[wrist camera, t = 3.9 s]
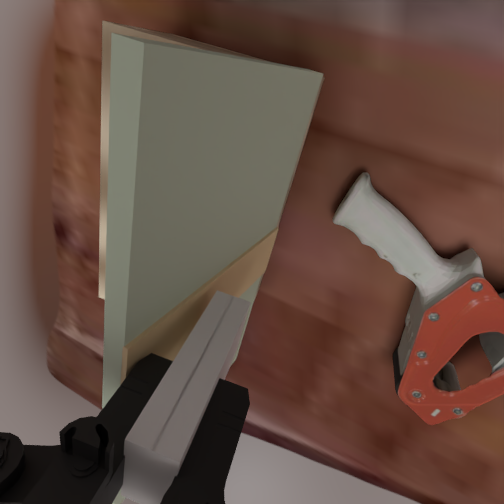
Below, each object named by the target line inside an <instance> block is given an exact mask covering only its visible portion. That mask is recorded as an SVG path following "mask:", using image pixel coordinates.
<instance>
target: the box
mask: <svg viewBox="0 0 504 504" xmlns="http://www.w3.org/2000/svg"><path fill="white" fill-rule="evenodd" d="M111 33H116V34H122V35H127V36H132V37H138V38H143V39H149V40H154V41H159V42H165V43H170V44H175V45H181V46H186V47H192V48H197V49H202V50H208V51H213V52H219V53H224V54H229V55H235V56H240V57H246V58H251V59H256V60H262V61H266V60H263V59H259V58H256V57H252V56H249V55H245V54H242V53H238V52H234V51H231V50H227V49H224V48H220V47H217V46H213V45H210V44H206V43H203V42H199V41H195V40H192V39H188V38H185V37H181V36H178V35H174V34H170V33H164V32H159V31H154V30H149V29H144V28H139V27H133V26H128V25H123V24H118V23H113V22H107V21H102V89H101V166H100V243H99V297H100V298H103V299H105V276H106V235H107V194H108V154H109V113H110V72H111ZM267 62H270V61H267ZM272 63H273V62H272ZM324 78H325V77H322V81H321V84H320V87H319V90H318V94H317V97H316V100H315V103H314V107H313V110H312V113H311V116H310V120H309V123H308V126H307V129H306V133H305V136H304V139H303V143H302V146H301V149H300V152H299V156H298V159H297V162H296V165H295V169H294V172H293V175H292V178H291V182H290V185H289V188H288V191H287V195H286V198H285V201H284V204H283V208H282V211H281V214H280V217H279V221H278V224H277V228H278V227H279V224H280V220H281V217H282V214H283V211H284V207H285V204H286V201H287V198H288V194H289V191H290V188H291V185H292V182H293V178H294V175H295V172H296V169H297V165H298V162H299V159H300V156H301V152H302V149H303V146H304V143H305V140H306V136H307V133H308V130H309V127H310V123H311V120H312V117H313V114H314V111H315V107H316V104H317V101H318V98H319V94H320V91H321V88H322V85H323V81H324ZM263 275H264V273H263V274H262V276H261V279H260V283H259V286H258V289H257V292H256V295H257V293H258V290H259V288H260V285H261V282H262V278H263ZM255 298H256V296H255ZM254 300H255V299H254Z"/></svg>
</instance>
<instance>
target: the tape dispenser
mask: <svg viewBox="0 0 504 504" xmlns="http://www.w3.org/2000/svg"><path fill="white" fill-rule="evenodd" d="M333 223H335V224H337V225H342V226H344V227H346V228H348V229H349V230H351V231H352V232H354V233H355V234H356V235H357V237H358V238H359V240H360V241H361V243H362V244H365V245H368V246H370V247H372V248H373V249H374V250H375V251H376V252H377V254H378V256H379V257H380V258H382V259H385V260H387V261H389V262H390V263H391V264H392V265H393V267H394V269H395V271H396V272H397V273H399V274H401V275H404V276H406V277H407V278H409V279H410V280H411V281H413V282H414V283H415V285H416V289H415V292H414V295H413V298H412V301H411V304H410V307H409V310H408V313H407V316H406V320H405V323H406V327H405V329H404V332H403V334H402V338H401V341H400V345H399V347H398V348H397V349H396V350H395V351H394V354H393V366H394V377H395V390H396V393H397V395H398V397H399V398H400V400H401V401H402V402H404V403H405V404H406V405H407V406H409V407H410V408H411V409H412V410H413V411H414V412H415V413H416V414H417V415H418V416H419V417H420V418H421V419H423V420H424V421H425V422H426V423H427V424H429V425H434V424H437V423H441V422H444V421H446V420H449V419H452V418H455V419H456V418H461V417H463V416H465V415H466V414H467V413H468V411H470V410H473V409H474V408H475V407H477V406H481V405H482V404H484V403H486V402H489V401H491V400H493V399H494V398H496V397H498V396H500V395H502V394H504V292H503V293H501V294H499V295H498V294H497V292H496V291H495V289H494V288H493V286H492V285H491V284H490V283H489V282H488V281H487V280H486V279H485V278H484V275H483V270H482V263H481V260H480V257H479V256H478V255H477V253H476V252H475V251H474V249H473V248H470V249H468V250H466V251H464V252H462V253H459V254H457V255H455V256H454V257H452V258H451V259H445V258H442V257H440V256H439V255H437V254H436V252H435V251H434V250H433V248H432V247H431V246H430V244H429V243H428V242H427V241H426V239H425V238H424V237H423V236H422V234H421V233H420V232H419V231H418V230H417V229H416V228H415V226H414V225H413V224H412V223H411V222H410V221H409V220H408V219H407V218H406V217H405V216H404V215H403V214H402V213H401V212H400V211H399V210H398V209H397V208H395V207H394V206H393V205H392V204H391V203H390V202H388V201H387V200H386V199H385V198H383V197H382V196H381V195H380V194H378V193H377V192H376V190H375V189H374V188H373V187H372V184H371V182H370V175H369V174H368V173H362V174H361V175H360V176H359V177H358V178H357V179H356V181H355V182H354V184H353V185H352V187H351V188H350V190H349V191H348V193H347V194H346V196H345V197H344V199H343V200H342V202H341V204H340V205H339V207H338V209H337V211H336V212H335V215H334V217H333ZM477 334H479V337H480V344H481V346H482V348H483V350H484V352H485V354H486V356H487V358H488V359H489V361H490V363H491V365H492V373H491V375H490V377H488V378H485V379H483V380H481V381H479V382H478V383H477V384H474V385H470V386H468V387H467V388H466V389H464V390H461V389H460V385H459V381H458V378H457V374H456V370H455V367H454V365H453V364H452V363H450V362H449V360H450V359H451V358H452V356H453V355H455V353H456V352H457V351H458V350H459V349H460V348H461V347H462V346H463V344H464V343H465V342H466V341H467V340H468V339H470V338H471V337H472V336H474V335H477Z"/></svg>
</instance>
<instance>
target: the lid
mask: <svg viewBox="0 0 504 504" xmlns="http://www.w3.org/2000/svg"><path fill="white" fill-rule="evenodd" d="M322 77H323V73H320V72H316V71H313V70H309V69H305V68H299V67H294V66H289V65H283V64H278V63H272V62H267V61H262V60H256V59H251V58H246V57H240V56H235V55H229V54H224V53H219V52H213V51H208V50H202V49H197V48H192V47H186V46H181V45H175V44H170V43H165V42H159V41H154V40H149V39H143V38H138V37H132V36H127V35H122V34H116V33H111V72H110V113H109V154H108V194H107V235H106V276H105V316H104V357H103V397H102V409H103V408H104V407H105V405H106V404H107V402H108V401H109V400H110V398H111V397H112V396H113V394H114V393H115V392H116V390H117V389H118V388H119V387H120V385H121V384H122V382H123V381H124V380H125V378H126V377H127V376H128V374H129V373H130V371H131V370H132V369H133V367H134V366H135V365H136V363H137V362H138V361H140V360H141V359H143V358H144V357H146V356H147V355H149V354H150V353H153V354H156V355H158V356H161V357H163V358H166V359H169V360H171V361H174V359H175V357H176V356H177V354H178V353H179V351H180V349H181V348H182V346H183V345H184V343H185V341H186V340H187V338H188V336H189V335H190V333H191V332H192V330H193V328H194V327H195V325H196V324H197V322H198V320H199V319H200V317H201V315H202V314H203V312H204V311H205V309H206V307H207V306H208V304H209V303H210V301H211V299H212V298H213V296H214V295H215V293H216V291H217V290H218V291H220V292H223V293H226V294H229V295H232V296H235V297H237V298H240V299H243V300H246V301H249V302H251V303H250V306H249V310H248V313H247V317H246V320H245V324H244V327H243V331H242V334H241V338H240V341H239V344H238V348H237V351H236V353H235V356H234V358H233V361H232V363H231V365H232V364H233V362H234V361H235V360H236V358H237V354H238V351H239V348H240V345H241V341H242V338H243V335H244V332H245V328H246V325H247V322H248V319H249V315H250V312H251V309H252V305H253V302H254V299H255V296H256V292H257V289H258V286H259V283H260V279H261V276H262V274H263V273H264V272H265V271H266V268H267V265H268V262H269V258H270V255H271V252H272V249H273V246H274V242H275V239H276V236H277V233H278V229H279V228H277V224H278V221H279V217H280V214H281V211H282V208H283V204H284V201H285V198H286V195H287V191H288V188H289V185H290V182H291V178H292V175H293V172H294V169H295V165H296V162H297V159H298V156H299V152H300V149H301V146H302V143H303V139H304V136H305V133H306V129H307V126H308V123H309V120H310V116H311V113H312V110H313V107H314V103H315V100H316V97H317V94H318V90H319V87H320V84H321V81H322ZM231 365H230V366H231ZM125 499H126V497H124V496H121V489H120V491H119V492H118V494H117V496H116V498H115V500H114V501H113V503H112V504H122V502H123V501H124V500H125Z"/></svg>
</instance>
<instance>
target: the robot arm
mask: <svg viewBox="0 0 504 504" xmlns="http://www.w3.org/2000/svg"><path fill="white" fill-rule="evenodd" d="M250 303H251V302H249V301H246V300H243V299H240V298H237V297H235V296H232V295H229V294H226V293H223V292H220V291H218V290H217V291H216V293H215V295H214V296H213V298H212V299H211V301H210V303H209V304H208V306H207V307H206V309H205V311H204V312H203V314H202V315H201V317H200V319H199V320H198V322H197V324H196V325H195V327H194V328H193V330H192V332H191V333H190V335H189V336H188V338H187V340H186V341H185V343H184V345H183V346H182V348H181V349H180V351H179V353H178V354H177V356H176V357H175V359H174V361H171V360H169V359H166V358H163V357H161V356H158V355H156V354H153V353H150V354H149V355H147V356H146V357H144V358H143V359H141V360H140V361H138V362H137V363H136V365H135V366H134V367H133V369H132V370H131V371H130V373H129V374H128V376H127V377H126V378H125V380H124V381H123V382H122V384H121V385H120V387H119V388H118V389H117V390H116V392H115V393H114V394H113V396H112V397H111V398H110V400H109V401H108V402H107V404H106V405H105V407H104V408H103V409H102V411H101V412H100V413H99V415H98V416H97V417H92V416H91V417H85V418H79V419H77V420H75V421H73V422H71V423H69V424H68V425H67V426H66V427H64V428H63V429H62V430H61V431H60V443H61V445H56V446H40V445H23V444H22V442H21V440H20V439H19V437H17V436H15V435H13V434H11V433H2V432H0V504H112V503H113V501H114V500H115V498H116V496H117V494H118V492H119V491H120V489H121V496H124V497H126V498H128V499H131V500H133V501H135V502H137V503H140V504H225V501H224V488H225V483H226V479H227V476H228V473H229V469H230V466H231V463H232V460H233V456H234V453H235V450H236V447H237V443H238V441H239V437H240V434H241V431H242V428H243V424H244V421H245V418H246V415H247V412H248V408H249V405H250V402H249V394H248V389H247V388H244V387H242V386H239V385H237V384H234V383H231V382H229V381H226V380H225V377H226V375H227V373H228V370H229V368H230V365H231V363H232V361H233V358H234V356H235V353H236V351H237V348H238V344H239V341H240V338H241V334H242V331H243V327H244V324H245V320H246V317H247V313H248V310H249V306H250Z"/></svg>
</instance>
